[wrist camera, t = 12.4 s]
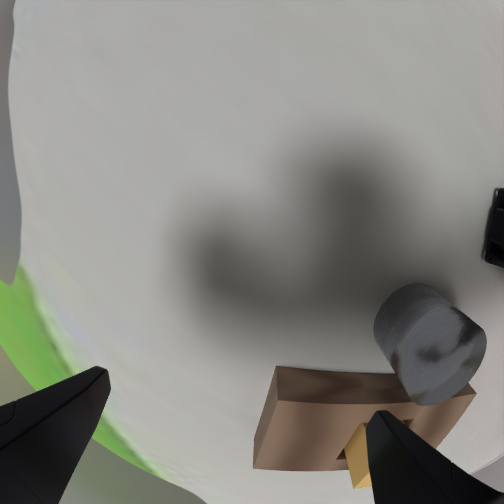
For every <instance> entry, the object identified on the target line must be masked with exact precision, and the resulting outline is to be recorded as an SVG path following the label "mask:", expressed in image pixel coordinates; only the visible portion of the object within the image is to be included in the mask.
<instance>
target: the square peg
mask: <svg viewBox="0 0 504 504" xmlns="http://www.w3.org/2000/svg"><path fill="white" fill-rule="evenodd" d="M400 421H401V422H402V423H404V421H403V420H400ZM367 424H368V423H360V424H359V425H358V427H357V429H356V430H355V432H354V433H353V435H352V436H351V438H350V440H349V441H348V443H347V444H346V445H345V447H344V450H345V454H346V459H347V463H348V467H349V471H350V475H351V480H352V484H353V488H354V489H355V488H363V487H370V486H372V483H371V478H370V472H369V466H368V456H367V443H366V426H367ZM404 424H405V423H404Z"/></svg>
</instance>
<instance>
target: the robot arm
mask: <svg viewBox="0 0 504 504" xmlns="http://www.w3.org/2000/svg"><path fill="white" fill-rule="evenodd" d="M489 257H490V258H489ZM485 261H486V262H487V263H490V264H493V265H497V266H500V267H503V268H504V189H503V188H500V189H499V191H498V196H497V203H496V209H495V214H494V219H493V224H492V229H491V233H490V238H489V242H488V246H487V250H486V254H485ZM110 390H111V385H110V379H109V373H108V370H107V369H105V368H102V367H99V366H94V367H92V368H90V369H88V370H85V371H83V372H81V373H79V374H77V375H74V376H72V377H70V378H67V379H65V380H63V381H61V382H58V383H56V384H54V385H51V386H49V387H47V388H44V389H42V390H39V391H37V392H35V393H32V394H30V395H28V396H25V397H23V398H20V399H18V400H16V401H13V402H10V403H8V404H5V405H2V406H0V504H59V501H60V499H61V497H62V495H63V493H64V490H65V489H66V486H67V484H68V482H69V480H70V478H71V476H72V474H73V472H74V470H75V468H76V466H77V464H78V462H79V460H80V458H81V456H82V454H83V452H84V450H85V448H86V446H87V444H88V442H89V441H90V439H91V437H92V435H93V433H94V431H95V429H96V427H97V425H98V422H99V420H100V417H101V414H102V412H103V409H104V407H105V404H106V401H107V399H108V396H109V394H110ZM366 443H367V456H368V466H369V472H370V478H371V483H372V489H373V495H374V501H375V504H504V493H502V492H499V491H497V490H495V489H493V488H491V487H489V486H488V485H486V484H484V483H482V482H481V481H479V480H477V479H476V478H474V477H473V476H471V475H469V474H468V473H466V472H465V471H464V470H462V469H461V468H459V467H458V466H457V465H455V464H454V463H453V462H452V463H451V461H450V460H449V459H448V458H446V457H445V456H444V455H442V454H441V453H440V452H439V451H437V450H436V449H435V448H433V447H432V446H431V445H430V444H428V443H427V442H426V441H425V440H423V439H422V438H421V437H420V436H418V435H417V434H416V433H415V432H413V431H412V430H411V429H410V428H408V427H407V426H406V425H405V424H404V423H402V422H401V421H400V420H399V419H397V418H396V417H395V416H394V415H393V414H391V413H390V412H389V411H387V410H378V411H376V412H375V413H374V414H373V416H372V418H371V419H370V421H369V422H368V424H367V426H366Z"/></svg>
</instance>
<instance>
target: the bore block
mask: <svg viewBox="0 0 504 504" xmlns="http://www.w3.org/2000/svg"><path fill="white" fill-rule="evenodd" d="M476 394H477V393H476V392H475V391H474V389H473V388H472V387H471V386H470V384H469V383H467V384H466V385H465V386H464V387H463V388H462V389H461V390H460V391H459V392H457V393H456V394H455V395H453V396H452V397H450V398H449V399H447V400H445V401H443V402H441V403H438V404H435V405H431V406H420V405H417V404H415V403H414V402H413V401H412V400H411V399H410V397H409V395H408V393H407V392H406V390H405V388H404V387H403V385H402V383H401V381H400V380H399V378H398V376H397V375H396V374H366V373H344V372H329V371H316V370H305V369H296V368H287V367H278V366H276V368H275V372H274V375H273V379H272V382H271V385H270V389H269V392H268V396H267V399H266V402H265V405H264V409H263V412H262V415H261V418H260V422H259V425H258V428H257V431H256V434H255V437H254V454H253V468H254V469H265V470H280V471H335V470H349V467H348V463H347V459H346V454H345V450H344V447H345V445H346V444H347V443H348V441H349V440H350V438H351V436H352V435H353V433H354V432H355V430H356V429H357V427H358V425H359V424H360V423H368V422H369V421H370V419H371V418H372V416H373V414H374V413H375V412H376V411H378V410H387V411H389V412H390V413H391V414H393V415H394V416H395V417H396V418H397V419H399V420H403V421H404V423H405V425H406V426H407V427H408V428H410V429H411V430H412V431H413V432H415V433H416V434H417V435H418V436H420V437H421V438H422V439H423V440H425V441H426V442H427V443H428V444H430V445H431V446H432V447H433V448H435V449H436V448H437V446H438V445H439V444H440V443H441V442H442V441H443V439H444V438H445V437H446V436H447V434H448V433H449V432H450V431H451V429H452V428H453V427H454V425H455V424H456V423H457V421H458V420H459V419H460V417H461V416H462V414H463V413H464V412H465V410H466V409H467V407H468V406H469V404H470V403H471V401H472V400H473V398H474V397H475V395H476Z"/></svg>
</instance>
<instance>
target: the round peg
mask: <svg viewBox="0 0 504 504" xmlns="http://www.w3.org/2000/svg"><path fill="white" fill-rule="evenodd" d="M374 336H375V339H376V342H377V343H378V345H379V347H380V348H381V350H382V351H383V353H384V355H385V356H386V358H387V360H388V361H389V363H390V365H391V366H392V368H393V370H394V371H395V373H396V375H397V376H398V378H399V380H400V381H401V383H402V385H403V387H404V388H405V390H406V392H407V393H408V395H409V397H410V399H411V400H412V401H413V402H414V403H415V404H417V405H420V406H431V405H435V404H438V403H441V402H443V401H445V400H447V399H449V398H450V397H452V396H453V395H455V394H456V393H457V392H459V391H460V390H461V389H462V388H463V387H464V386H465V385H466V384H467V383H468V382H469V381H470V380H471V378H472V377H473V376H474V374H475V373H476V371H477V370H478V368H479V366H480V364H481V362H482V360H483V357H484V354H485V351H486V344H487V340H486V334H485V332H484V330H483V329H482V328H481V327H480V326H479V325H477V324H476V323H475V322H474V321H473V320H471V319H470V318H469V317H468V316H466V315H465V314H464V313H463V312H461V311H460V310H459V309H458V308H456V307H455V306H454V305H453V304H451V303H450V302H449V301H448V300H446V299H445V298H444V297H442V296H441V295H440V294H438V293H437V292H436V291H435V290H433V289H432V288H430V287H429V286H427V285H425V284H419V283H416V284H410V285H407V286H404V287H402V288H400V289H398V290H397V291H395V292H394V293H393V294H392V295H391V296H390V297H389V298H388V299H387V300H386V301H385V302H384V303H383V305H382V306H381V308H380V310H379V312H378V314H377V316H376V319H375V324H374Z"/></svg>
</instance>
